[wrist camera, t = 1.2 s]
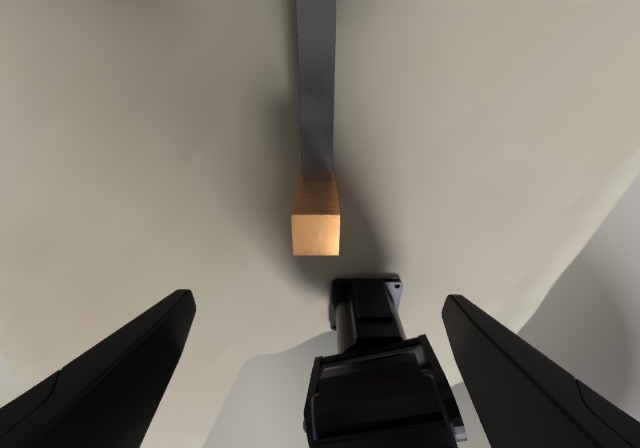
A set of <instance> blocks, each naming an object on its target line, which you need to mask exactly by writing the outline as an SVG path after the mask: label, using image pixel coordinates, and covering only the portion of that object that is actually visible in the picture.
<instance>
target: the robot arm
mask: <svg viewBox="0 0 640 448" xmlns="http://www.w3.org/2000/svg"><path fill="white" fill-rule="evenodd" d="M336 284H339V285H336ZM396 284H398V285H396ZM402 288H403V284H402V282H401V280H399V279H335V280H333V281H332V287H331V323H330V324H331V329H332V330H335V331H337V345H338V354H336V355H331V356H327V357H322V356H320V357H315V361H314V366H313V369H312V373H311V378H310V383H309V388H308V393H307V398H306V403H305V408H304V421H303V429H304V431H305V432H306V433H307V439H308V443H309V448H458V447H457V443H456V441H457V442H460V441H467V435H466V431H465V427H464V424H463V421H462V418H461V415H460V412H459V409H458V406H457V403H456V401H455V398H454V395H453V393H452V390H451V388H450V385H449V383H448V381H447V378H446V376H445V374H444V372H443V370H442V368H441V366H440V364H439V362H438V359H437V357H436V355H435V353H434V351H433V349H432V347H431V345H430V343H429V341H428V339H427V337H426V335H425V334H424V335H419V336H418V337H416V338H411V339H406V336H405V333H404V330H403V327H402V324H401V321H400V318H399V315H398V307H399V302H400V297H401V292H402ZM195 313H196V304H195V301H194V298H193V294H192V291H191V290H189V289H178V290H176V291H175V292H173V293H172V294H170V295H169V296H167V297H166V298H164V299H163V300H161V301H160V302H158V303H157V304H155V305H154V306H152V307H151V308H149V309H148V310H146V311H145V312H144V313H142V314H141V315H139V316H138V317H136V318H135V319H133V320H132V321H130V322H129V323H127V324H126V325H124V326H123V327H121V328H120V329H118V330H117V331H116V332H114V333H113V334H111V335H110V336H108V337H107V338H105V339H104V340H102V341H101V342H99V343H98V344H96V345H95V346H93V347H92V348H90V349H89V350H87V351H86V352H85V353H83V354H82V355H80V356H79V357H77V358H76V359H74V360H73V361H71V362H70V363H68V364H67V365H65V366H64V367H63V368H62V369H61V370H58V371H56V372H55V373H53V374H52V375H50V376H49V377H48V378H46V379H45V380H43V381H42V382H40V383H39V384H37V385H36V386H34V387H32V388H31V389H29V390H28V391H26V392H25V393H24V394H22V395H20V396H19V397H17V398H16V399H14V400H13V401H11V402H10V403H8V404H6V405H5V406H3V407H1V408H0V448H140V445H141V443H142V441H143V439H144V437H145V434H146V432H147V430H148V428H149V426H150V423H151V421H152V419H153V417H154V415H155V412H156V410H157V408H158V406H159V404H160V401H161V399H162V397H163V395H164V393H165V390H166V388H167V386H168V384H169V381H170V379H171V377H172V375H173V373H174V370H175V368H176V366H177V364H178V362H179V359H180V357H181V354H182V352H183V349H184V346H185V343H186V340H187V337H188V334H189V331H190V328H191V325H192V322H193V319H194V316H195ZM442 319H443V322H444V325H445V329H446V332H447V335H448V339H449V342H450V345H451V349H452V352H453V355H454V358H455V361H456V363H457V366H458V369H459V371H460V373H461V376H462V378H463V381H464V383H465V385H466V388H467V390H468V392H469V395H470V397H471V400H472V402H473V405H474V407H475V409H476V412H477V414H478V417H479V419H480V421H481V424H482V426H483V428H484V431H485V433H486V436H487V438H488V440H489V443H490V445H491V448H640V422H639V421H637V420H636V419H634V418H633V417H631V416H629V415H628V414H627V413H625V412H624V411H622V410H620V409H619V408H618V407H616V406H615V405H613V404H612V403H611V402H609V401H608V400H606V399H605V398H604V397H602V396H601V395H599V394H598V393H596V392H595V391H594V390H592V389H591V388H589V387H588V386H587V385H585V384H584V383H582V382H581V381H580V380H578V379H575V377H574V376H573V375H571V374H570V373H569V372H567V371H566V370H564V369H563V368H562V367H560V366H559V365H557V364H556V363H555V362H553V361H552V360H551V359H549V358H548V357H546V356H545V355H544V354H542V353H541V352H540V351H538V350H537V349H535V348H534V347H533V346H531V345H530V344H528V343H527V342H526V341H524V340H523V339H521V338H520V337H519V336H517V335H516V334H515V333H513V332H512V331H510V330H509V329H508V328H506V327H505V326H504V325H502V324H501V323H499V322H498V321H497V320H495V319H494V318H492V317H491V316H490V315H488V314H487V313H486V312H484V311H483V310H481V309H480V308H479V307H477V306H476V305H474V304H473V303H472V302H470V301H469V300H468V299H466V298H465V297H463V296H462V295H457V294H450V295H448V296H447V298H446V301H445V303H444V306H443V309H442ZM335 325H336V326H335Z"/></svg>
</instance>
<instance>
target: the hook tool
mask: <svg viewBox="0 0 640 448" xmlns="http://www.w3.org/2000/svg"><path fill="white" fill-rule="evenodd" d="M296 9H297V38H298V67H299V95H300V124H301V153H302V173H301V175H300V179H299V183H298V187H297V191H296V196H295V200H294V204H293V208H292V212H291V224H292V240H293V255H339V235H340V209H339V202H338V194H337V187H336V180H335V173H332V163H333V119H334V74H335V30H336V0H296Z"/></svg>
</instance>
